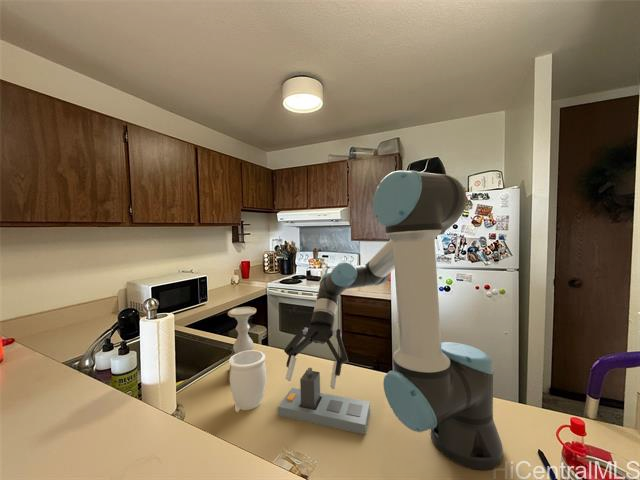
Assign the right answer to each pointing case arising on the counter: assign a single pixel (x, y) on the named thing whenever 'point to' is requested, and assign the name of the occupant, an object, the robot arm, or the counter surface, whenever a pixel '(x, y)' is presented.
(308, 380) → the block
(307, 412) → the power strip
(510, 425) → the counter surface
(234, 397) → the jar
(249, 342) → the candle holder
